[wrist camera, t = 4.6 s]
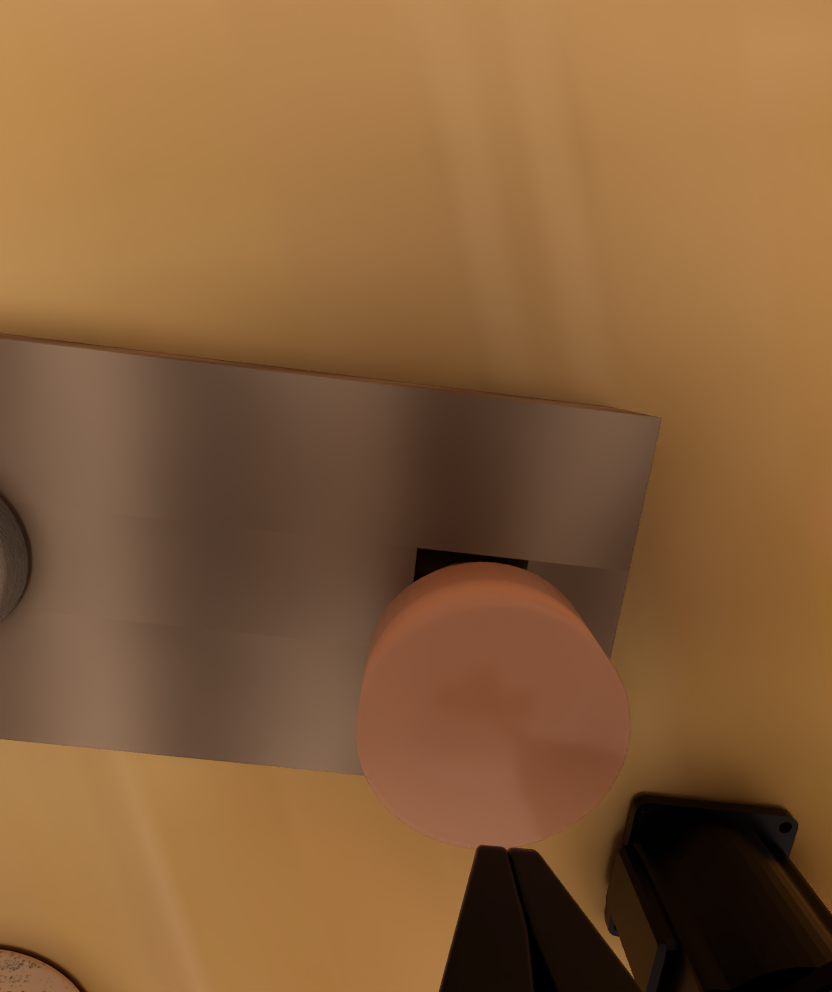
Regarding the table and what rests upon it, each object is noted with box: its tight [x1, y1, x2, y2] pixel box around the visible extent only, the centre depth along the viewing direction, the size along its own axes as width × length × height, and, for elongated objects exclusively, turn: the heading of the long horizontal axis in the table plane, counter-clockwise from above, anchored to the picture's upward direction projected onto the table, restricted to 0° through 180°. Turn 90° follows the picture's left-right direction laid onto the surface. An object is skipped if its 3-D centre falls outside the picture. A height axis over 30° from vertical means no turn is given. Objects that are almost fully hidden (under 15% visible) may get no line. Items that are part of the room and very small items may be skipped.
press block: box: [0, 334, 662, 775], centre depth 18 cm, size 24×12×4 cm, turn 83°
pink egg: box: [356, 561, 630, 849], centre depth 14 cm, size 5×5×6 cm
